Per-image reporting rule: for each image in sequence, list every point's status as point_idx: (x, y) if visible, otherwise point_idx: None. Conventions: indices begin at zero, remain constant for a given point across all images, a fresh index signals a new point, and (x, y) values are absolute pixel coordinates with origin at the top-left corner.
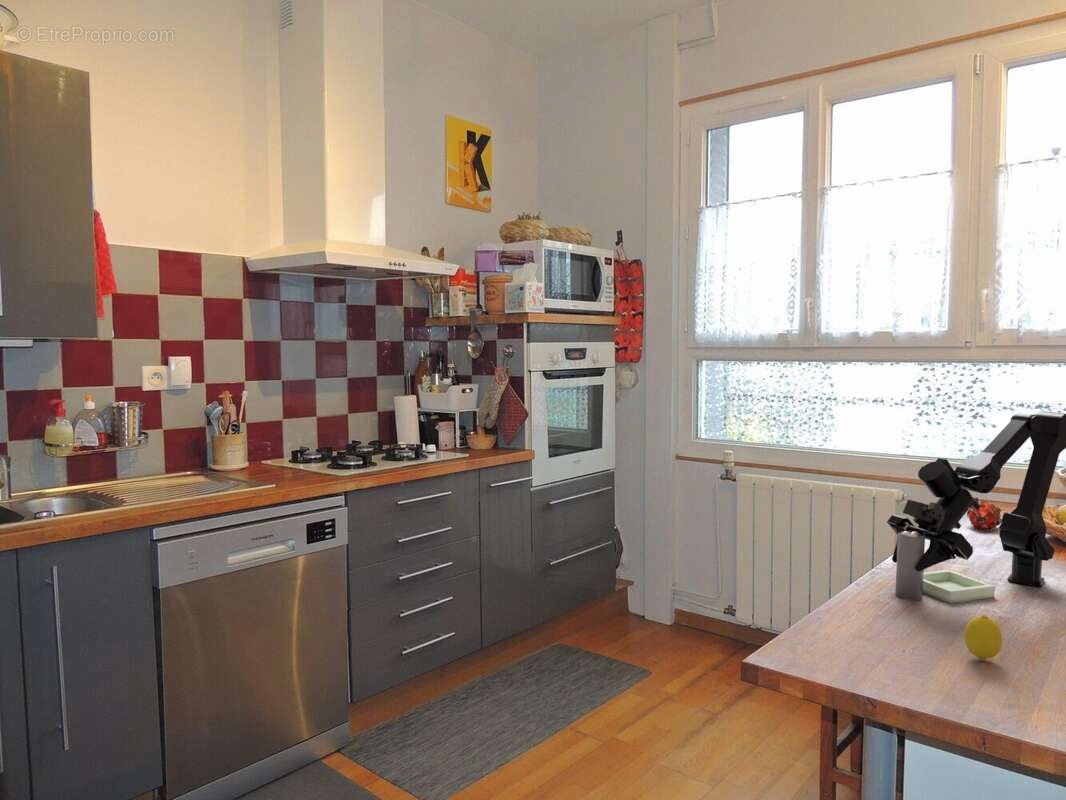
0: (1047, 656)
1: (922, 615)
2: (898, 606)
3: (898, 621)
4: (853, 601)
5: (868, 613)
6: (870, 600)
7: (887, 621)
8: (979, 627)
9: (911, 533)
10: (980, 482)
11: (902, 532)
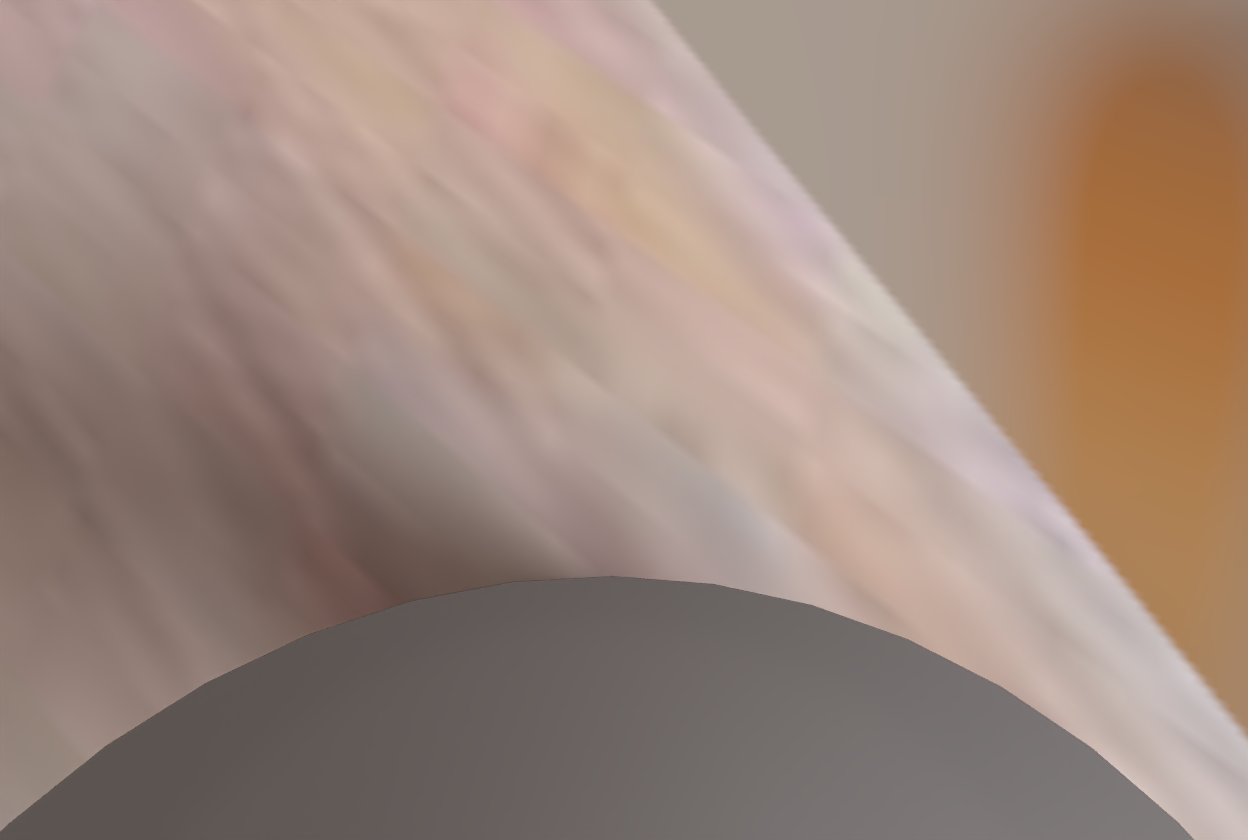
0: None
1: (97, 468)
2: (372, 417)
3: (70, 163)
4: (598, 123)
5: (312, 59)
6: (584, 277)
7: (107, 82)
8: None
9: None
10: None
11: None
